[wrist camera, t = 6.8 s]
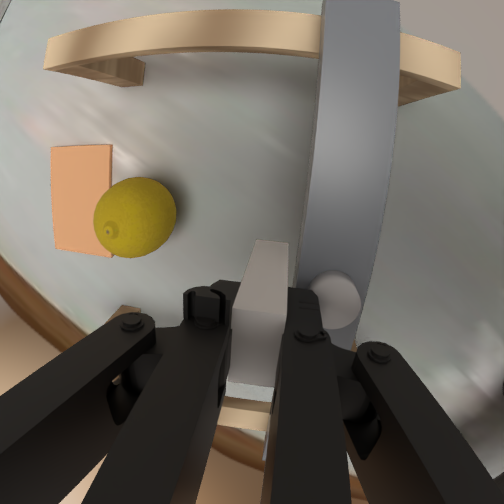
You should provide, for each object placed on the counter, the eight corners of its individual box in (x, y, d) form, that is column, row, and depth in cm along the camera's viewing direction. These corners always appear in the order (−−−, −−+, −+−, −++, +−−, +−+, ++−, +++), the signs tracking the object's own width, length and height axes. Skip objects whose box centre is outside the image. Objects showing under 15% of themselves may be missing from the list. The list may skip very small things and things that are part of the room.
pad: (112, 144, 24) (109, 144, 23) (113, 256, 27) (111, 257, 27) (53, 147, 24) (51, 147, 24) (57, 247, 28) (55, 248, 27)
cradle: (398, 83, 20) (460, 52, 10) (348, 355, 28) (365, 436, 18) (124, 65, 21) (48, 38, 12) (124, 322, 29) (72, 384, 20)
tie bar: (386, 18, 10) (408, -10, 7) (308, 441, 19) (308, 478, 16) (321, 5, 10) (329, -28, 7) (264, 437, 19) (260, 474, 16)
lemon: (124, 176, 25) (66, 191, 17) (185, 168, 24) (141, 181, 16) (133, 239, 26) (82, 274, 19) (192, 236, 26) (155, 275, 18)
